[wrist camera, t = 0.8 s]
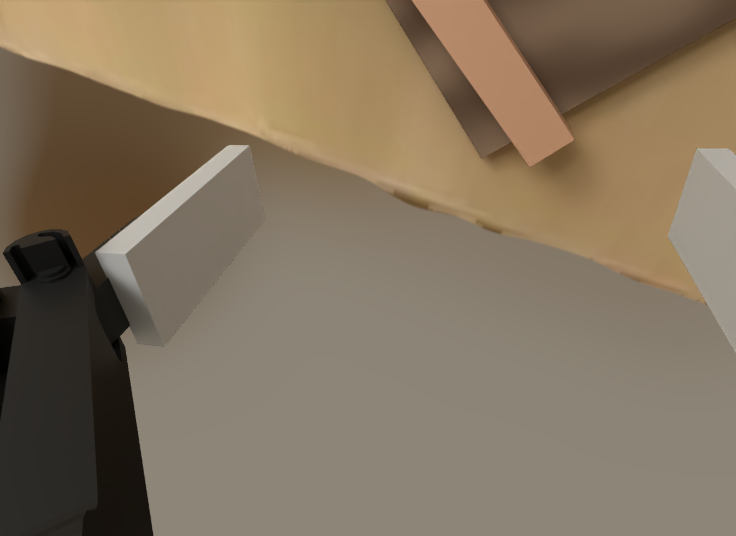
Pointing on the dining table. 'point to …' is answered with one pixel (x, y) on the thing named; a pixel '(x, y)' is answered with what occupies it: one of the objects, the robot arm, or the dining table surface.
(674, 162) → the dining table surface
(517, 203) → the dining table surface
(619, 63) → the pintle plate
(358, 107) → the dining table surface
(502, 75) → the link
